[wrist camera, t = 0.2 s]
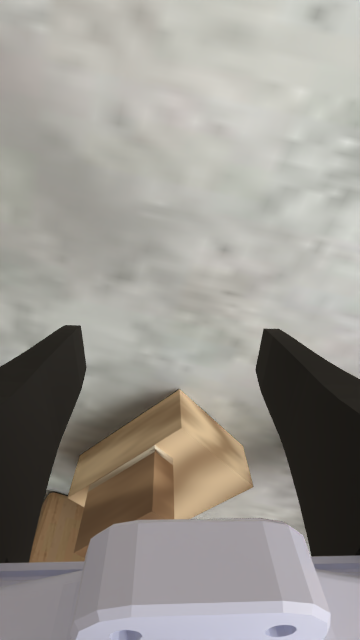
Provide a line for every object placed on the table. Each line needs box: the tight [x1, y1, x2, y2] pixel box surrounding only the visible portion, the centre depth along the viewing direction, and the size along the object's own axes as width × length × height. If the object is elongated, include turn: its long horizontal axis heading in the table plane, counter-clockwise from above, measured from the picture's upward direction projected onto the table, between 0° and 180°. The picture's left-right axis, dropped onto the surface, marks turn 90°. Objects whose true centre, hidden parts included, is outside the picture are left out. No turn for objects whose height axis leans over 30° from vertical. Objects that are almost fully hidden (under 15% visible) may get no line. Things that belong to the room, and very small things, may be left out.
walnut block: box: [74, 445, 174, 558], centre depth 23 cm, size 2×8×5 cm, turn 130°
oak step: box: [68, 389, 253, 519], centre depth 29 cm, size 10×13×4 cm
